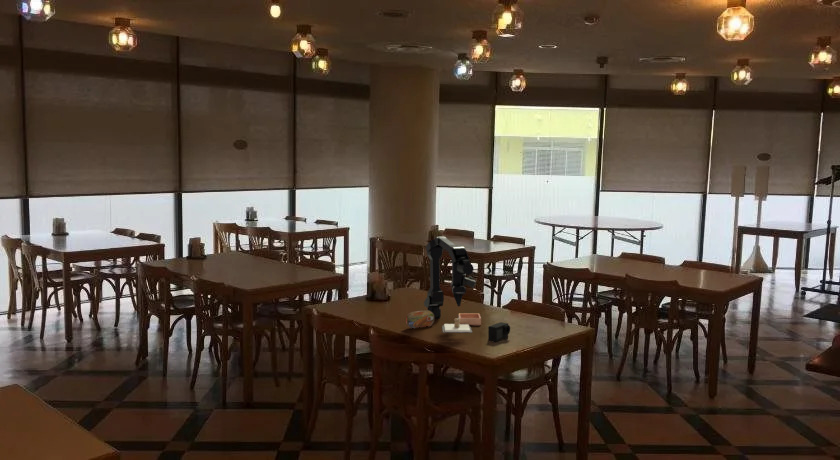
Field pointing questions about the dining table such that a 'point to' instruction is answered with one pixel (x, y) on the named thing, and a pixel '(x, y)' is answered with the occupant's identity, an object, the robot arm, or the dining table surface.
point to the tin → (420, 319)
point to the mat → (458, 332)
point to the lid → (456, 327)
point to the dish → (470, 318)
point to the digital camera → (498, 331)
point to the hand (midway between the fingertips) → (458, 304)
